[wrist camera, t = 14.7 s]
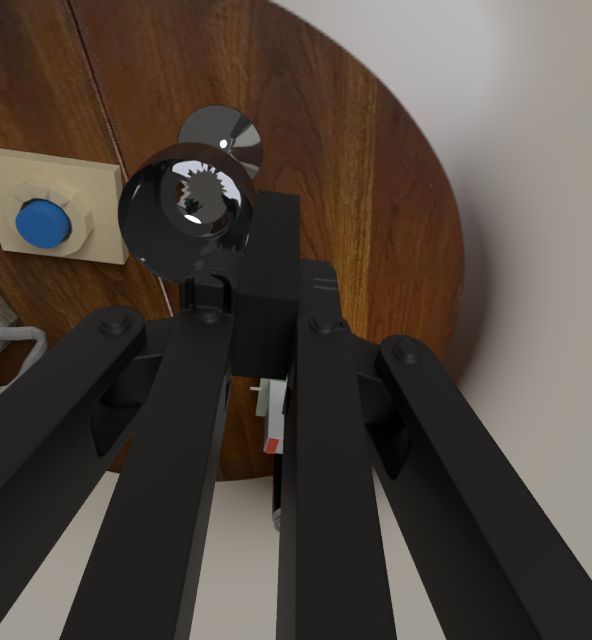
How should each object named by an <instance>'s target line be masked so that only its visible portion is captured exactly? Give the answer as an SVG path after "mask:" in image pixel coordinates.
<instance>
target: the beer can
mask: <svg viewBox="0 0 592 640" xmlns="http://www.w3.org/2000/svg"><path fill="white" fill-rule="evenodd" d="M282 458H283V454H279V453H275V454H274V468H273V502H272V519H273V522H274V528H275V529H276V530H277V531H279V532H280V513H281V485H282Z"/></svg>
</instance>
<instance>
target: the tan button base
mask: <svg viewBox="0 0 592 640" xmlns="http://www.w3.org/2000/svg"><path fill="white" fill-rule="evenodd" d="M121 193H122V179H121V169H120V165H113V164H106V163H99V162H92V161H85V160H78V159H71V158H64V157H57V156H50V155H43V154H36V153H29V152H22V151H15V150H8V149H1V148H0V243H1V246H2V249H3V250H5V251H13V252H21V253H30V254H38V255H47V256H55V257H63V258H72V259H80V260H89V261H97V262H105V263H114V264H122V265H124V264H125V262H126V260H127V259H128V257H129V251H128V247H127V246H126V244H125V242H124V240H123V238H122V236H121V232H120V228H119V225H118V215H117V212H118V203H119V199H120V196H121ZM38 200H42V201H48V202H51V203H53V204H55V205H57V206H58V207H59V208H61V209H62V210H63V211H64V213H65V214H66V215H67V217H68V219H69V222H70V230H69V233H68V234H67V235H66V236H65V238H64V239H63V240H62V241H61V242H60V243H59V244H58V245H57V246H55V247H53V248H47V249H46V248H39V247H36V246H34V245H32V244H30V243H28V242H27V241H26V240H25V239H23V237H22V236H21V235H20V234H19V232H18V230H17V228H16V224H15V220H16V216H17V214H18V213H19V212H20V211H22V210H23V209H24V208H25V207H26V206H27V205H29V204H30V203H31V202H34V201H38Z"/></svg>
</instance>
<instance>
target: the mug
mask: <svg viewBox="0 0 592 640" xmlns="http://www.w3.org/2000/svg"><path fill="white" fill-rule="evenodd" d="M17 322H18V317H17V315H16V314H15V313H14V312H13V310H12V309H11V308H10V307H9V305H8V304H7V303H6V302H5V300H4V299H3V298H2V297H1V295H0V353H1V352H2V351H3V350H4V349H5V348H6V347H7V346H8V345H9V344H10V343H12V340H25V339H35V340H37V343H36V344H35V346H34V348H33V349H32V351H31V352H30V354H29V355H28V356H27V358H26V359H25V361H24V363H23V366H22V368H21V370H20V372H19V375H18V376H17V377H16V378H14V379H13V380H12V381H11V382H10V383H9V384H8V385H7V386H2V387H0V394H1V393H2V392H3V391H4V390H5V389H6V388H8V387H9V386H10V385H11V384H12V383H13V382H14V381H15V380H16V379H18V378H19V377H20V376H21V375H22V374H23V373H24V372H25V371H26V370H28V369H29V368H30V367H31V366H32V365H33V364H34V363H35V362H37V361H38V360H39V359H40V358H41V357H42V356H43V355H44V353H45V351H46V350H47V338H46V334H45V332H44V331H42V330H40V329H38V328H36V327H16V325H17Z"/></svg>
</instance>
